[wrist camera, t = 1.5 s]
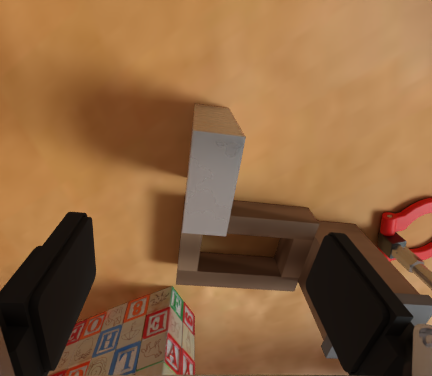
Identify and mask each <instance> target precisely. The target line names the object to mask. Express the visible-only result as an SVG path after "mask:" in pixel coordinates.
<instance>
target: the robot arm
mask: <svg viewBox="0 0 432 376" xmlns="http://www.w3.org/2000/svg"><path fill="white" fill-rule="evenodd" d="M95 275H96V264H95V251H94V238H93V225H92V218H91V217H87V214H86V213H79V212H68V213H67V214H66V216H65V217H64V218H63V220H62V221H61V222H60V224H59V225H58V226H57V227H56V229H55V230H54V231H53V233H52V234H51V235H50V237H49V238H48V239H47V240H46V242H45V243H44V244H43V246H38V247H36V248H35V249H34V250H33V251H32V252H31V254H30V255H29V256H28V257H27V259H26V260H25V261H24V262H23V264H22V265H21V266H20V267H19V269H18V270H17V271H16V272H15V274H14V275H13V276H12V277H11V279H10V280H9V281H8V282H7V284H6V285H5V286H4V287H3V289H2V290H1V291H0V376H47V375H48V373H49V371H54V370H55V369H56V367H57V365H58V363H59V361H60V359H61V356H62V354H63V352H64V349H65V347H66V345H67V342H68V340H69V338H70V335H71V333H72V331H73V328H74V326H75V324H76V321H77V319H78V317H79V314H80V312H81V310H82V308H83V305H84V303H85V301H86V298H87V296H88V294H89V291H90V289H91V287H92V284H93V282H94V279H95ZM306 290H307V293H308V295H309V297H310V299H311V301H312V303H313V305H314V308H315V310H316V312H317V314H318V316H319V318H320V320H321V323H322V325H323V327H324V329H325V331H326V333H327V335H328V338H329V340H330V342H331V344H332V346H333V348H334V350H335V353H336V355H337V357H338V359H339V361H340V363H341V365H342V367H343V369H344V370H345V371H346V372H348V374H349V376H432V325H428V324H417V325H416V326H414V325H413V324H412V323H411V320H412V319H413V315H412V314H411V313H410V312H409V311H408V309H407V308H406V307H405V306H404V304H403V303H402V302H401V301H400V300H399V298H398V297H397V296H396V295H395V293H394V292H393V291H392V290H391V289H390V287H389V286H388V285H387V284H386V283H385V281H384V280H383V279H382V278H381V276H380V275H379V274H378V273H377V272H376V270H375V269H374V268H373V267H372V265H371V264H370V263H369V262H368V261H367V259H366V258H365V257H364V256H363V254H362V253H361V252H360V251H359V250H358V248H357V247H356V246H355V245H354V243H353V242H352V241H351V240H350V239H349V237H348V236H347V235H346V234H344V233H335V232H330V233H329V234H328V235H326V236H324V238H323V240H322V243H321V245H320V248H319V250H318V253H317V255H316V258H315V260H314V263H313V265H312V268H311V270H310V273H309V275H308V278H307V280H306ZM93 376H345V375H93Z"/></svg>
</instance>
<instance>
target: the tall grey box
mask: <svg viewBox="0 0 432 376" xmlns="http://www.w3.org/2000/svg"><path fill="white" fill-rule="evenodd" d="M245 138H246V137H245V135H244V133H243V131H242V130H241V128H240V126H239V124H238V123H237V121H236V119H235V117H234V116H233V114H232V112H231V110H230V109H229V108H224V107H217V106H210V105H203V104H195V106H194V116H193V125H192V135H191V144H190V154H189V163H188V173H187V183H186V194H185V206H184V217H183V228H182V233H190V234H202V235H215V236H226V234H227V229H228V224H229V219H230V214H231V209H232V204H233V199H234V194H235V189H236V183H237V178H238V173H239V168H240V163H241V158H242V153H243V148H244V143H245Z"/></svg>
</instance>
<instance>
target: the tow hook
mask: <svg viewBox="0 0 432 376" xmlns="http://www.w3.org/2000/svg"><path fill="white" fill-rule="evenodd" d="M428 213H432V198H427V199H424V200H420V201H418V202H416V203H414V204H412V205H410V206H409V207H407V208H406V209H404V210H403V211H401V212H400V213H396V214H394V213H390V212H386V213H383V214H382V220H381V229H380V231H379V236H378V249H379V250H380V252H381V253H382V254H383V255H384V256H385V257H386V258H387V259H388V260H389V261H390V262H391V261H392V260H397V261H398V262H399V263H400V264H401V265H402V266H403V267H404V268H405V269H407V270H408V271H409V272H412V273H414V274H415V275H416V276H418V277H419V278H420V279H421V280H422V281H423V282H424V283H425V284H426V285H427V286H428V287H429V288H430V289H431V290H432V272H431V271H430V270H429V269H428V268H427V267H425V266H424V262H423V261H422V260H426V259H428V258H430V257H432V242H430V243H428V244H427V245H425V246H423V247H420V248H416V249H408V248H407V247H406V241H405V240H404V239H403V238H402V237H401V236H399V235H398V234H397V233H396V232H398V231H402V230H405V229H406V228H407V227H408V226H409V225H410V224H411V223H412V222H413V221H414V220H415V219H417V218H418V217H420V216H422V215H424V214H428Z"/></svg>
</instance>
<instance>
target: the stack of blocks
mask: <svg viewBox="0 0 432 376" xmlns="http://www.w3.org/2000/svg"><path fill="white" fill-rule="evenodd" d="M194 335H195V316H194V314H193V313H192V312H191V310H190V309H189V308H188V306H187V305H186V304H185V302H184V301H183V300H182V299H181V297H180V296H179V295H178V293H177V292H176V291H175V289H174V288H173V287H172V286H171V287H168V288H166V289H163V290H160V291H158V292H155V293H152V294H148V295H146V296H143V297H141V298H138V299H135V300H133V301H130V302H128V303H125V304H122V305H119V306H117V307H114V308H112V309H109V310H108V311H106V312H103V313H101V314H99V315H96V316H93V317H91V318H89V319H87V320H84V321H81V322H79V323H76V324H75V326H74V328H73V331H72V333H71V335H70V338H69V340H68V342H67V345H66V347H65V349H64V352H63V354H62V356H61V359H60V361H59V363H58V365H57V367H56V369H55V370H54V371H49V373H48V375H47V376H93V375H195V362H194V360H195V359H194Z"/></svg>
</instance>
